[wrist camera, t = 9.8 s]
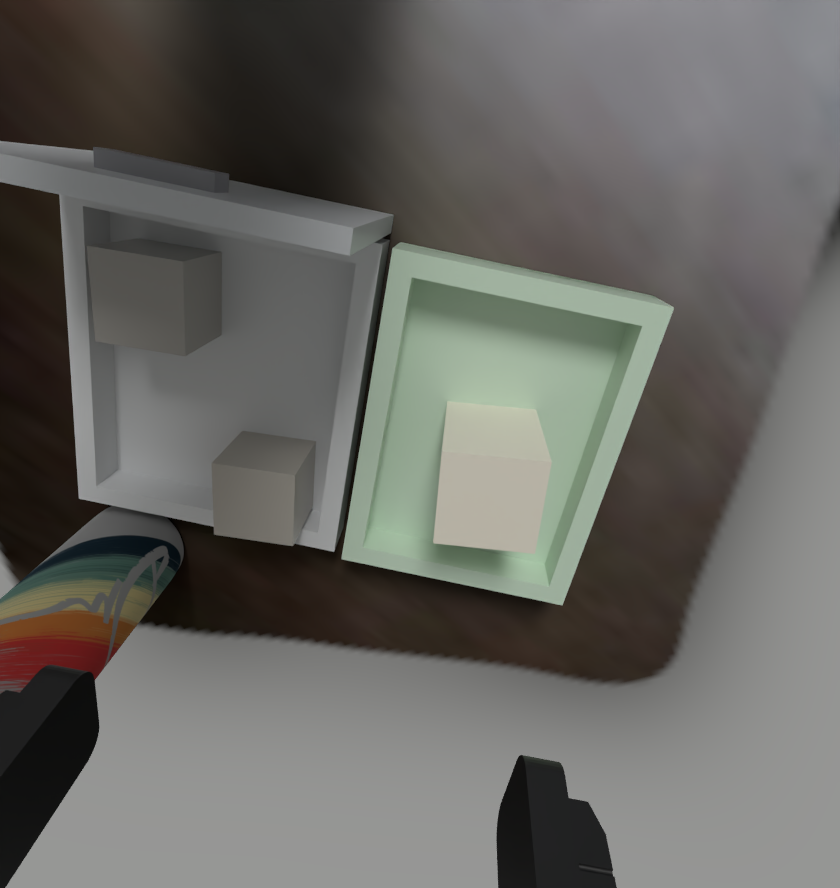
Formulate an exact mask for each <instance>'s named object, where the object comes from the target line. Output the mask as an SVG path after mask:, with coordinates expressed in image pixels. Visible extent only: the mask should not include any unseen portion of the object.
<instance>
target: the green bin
mask: <svg viewBox="0 0 840 888" xmlns="http://www.w3.org/2000/svg"><path fill="white" fill-rule="evenodd" d="M673 310H674V307H672V306H670V305H669V304H667V303H665V302H663V301H662V300H660V299H658V298H656V297H655V296H653V295H648V294H643V293H638V292H634V291H629V290H624V289H620V288H615V287H610V286H605V285H601V284H596V283H591V282H586V281H582V280H577V279H572V278H568V277H563V276H558V275H553V274H549V273H544V272H539V271H535V270H530V269H525V268H520V267H516V266H511V265H506V264H502V263H497V262H492V261H487V260H483V259H478V258H473V257H469V256H464V255H459V254H454V253H450V252H445V251H440V250H436V249H431V248H426V247H421V246H417V245H412V244H407V243H403V242H400V243H399V244H397V245H396V246H395V247H393V249H392V255H391V261H390V267H389V273H388V279H387V285H386V291H385V297H384V303H383V309H382V315H381V322H380V328H379V334H378V340H377V346H376V352H375V358H374V364H373V370H372V376H371V382H370V388H369V394H368V401H367V407H366V413H365V419H364V425H363V431H362V437H361V443H360V449H359V455H358V461H357V467H356V473H355V479H354V486H353V492H352V498H351V504H350V510H349V516H348V522H347V528H346V534H345V540H344V546H343V552H342V558H341V559H343V560H348V561H352V562H357V563H362V564H367V565H372V566H376V567H381V568H386V569H391V570H396V571H400V572H405V573H410V574H415V575H419V576H424V577H429V578H434V579H439V580H443V581H448V582H453V583H458V584H463V585H467V586H472V587H477V588H482V589H487V590H491V591H496V592H501V593H506V594H511V595H515V596H520V597H525V598H530V599H534V600H539V601H544V602H549V603H554V604H558V605H563V602H564V600H565V597H566V594H567V592H568V589H569V586H570V584H571V581H572V578H573V576H574V573H575V570H576V568H577V565H578V562H579V560H580V557H581V554H582V552H583V549H584V546H585V544H586V541H587V538H588V536H589V533H590V530H591V528H592V525H593V522H594V520H595V517H596V514H597V512H598V509H599V506H600V504H601V501H602V498H603V496H604V493H605V490H606V488H607V485H608V483H609V480H610V477H611V475H612V472H613V469H614V467H615V464H616V461H617V459H618V456H619V453H620V451H621V448H622V445H623V443H624V440H625V437H626V435H627V432H628V429H629V427H630V424H631V421H632V419H633V416H634V413H635V411H636V408H637V405H638V403H639V400H640V397H641V395H642V392H643V389H644V387H645V384H646V381H647V379H648V376H649V373H650V371H651V368H652V365H653V363H654V360H655V357H656V355H657V352H658V349H659V347H660V344H661V341H662V339H663V336H664V334H665V331H666V328H667V326H668V323H669V320H670V318H671V315H672V312H673ZM447 401H450V402H461V403H472V404H482V405H493V406H504V407H514V408H525V409H536V411H537V414H538V418H539V421H540V424H541V428H542V431H543V434H544V438H545V441H546V444H547V448H548V451H549V454H550V458H551V461H552V464H551V469H550V475H549V480H548V486H547V491H546V497H545V502H544V508H543V513H542V519H541V524H540V529H539V535H538V540H537V546H536V551H535V554H531V553H521V552H512V551H502V550H493V549H483V548H473V547H464V546H454V545H445V544H435V543H433V539H434V528H435V518H436V507H437V497H438V486H439V475H440V465H441V454H442V445H443V436H444V426H445V417H446V408H447Z"/></svg>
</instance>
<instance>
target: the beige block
mask: <svg viewBox="0 0 840 888" xmlns="http://www.w3.org/2000/svg"><path fill="white" fill-rule="evenodd" d="M551 464H552V461H551V458H550V454H549V451H548V448H547V444H546V441H545V438H544V434H543V431H542V428H541V424H540V421H539V418H538V414H537V411H536V409H525V408H514V407H504V406H493V405H482V404H472V403H461V402H450V401H447V408H446V417H445V426H444V436H443V445H442V454H441V465H440V475H439V486H438V497H437V507H436V518H435V528H434V539H433V543H435V544H445V545H454V546H464V547H473V548H483V549H493V550H502V551H512V552H521V553H531V554H535V551H536V546H537V540H538V535H539V529H540V524H541V519H542V513H543V508H544V502H545V497H546V491H547V486H548V480H549V475H550V469H551Z"/></svg>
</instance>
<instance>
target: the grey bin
mask: <svg viewBox="0 0 840 888" xmlns="http://www.w3.org/2000/svg"><path fill="white" fill-rule="evenodd" d="M59 197H60V212H61V228H62V243H63V259H64V274H65V290H66V305H67V321H68V336H69V352H70V367H71V383H72V398H73V414H74V429H75V445H76V460H77V476H78V491H79V499H83V500H88V501H93V502H98V503H103V504H107V505H112V506H117V507H122V508H127V509H131V510H136V511H141V512H146V513H151V514H155V515H160V516H165V517H170V518H174V519H179V520H184V521H189V522H194V523H198V524H203V525H208V526H213V527H214V520H213V493H212V465H211V463H212V462H213V461H214V460H215V459H216V458H217V457H218V456H219V455H220V454H221V453H222V452H223V451H224V449H225V448H226V447H227V446H228V445H229V444H230V443H231V442H232V441H233V440H234V439H235V438H236V437H237V436H238V435H239V434H240V433H241V432H242V431H248V432H255V433H262V434H269V435H276V436H283V437H290V438H297V439H304V440H311V441H316V453H315V474H314V495H313V507H312V509H311V511H310V513H309V515H308V517H307V519H306V521H305V523H304V525H303V527H302V529H301V531H300V533H299V535H298V537H297V539H296V541H295V543H294V544H299V545H304V546H309V547H313V548H318V549H323V550H328V551H332V552H334V551H335V548H336V546H337V543H338V540H339V538H340V535H341V532H342V530H343V527H344V521H345V515H346V509H347V502H348V496H349V490H350V484H351V478H352V472H353V465H354V459H355V453H356V447H357V441H358V434H359V428H360V422H361V416H362V410H363V404H364V397H365V391H366V385H367V379H368V373H369V367H370V360H371V354H372V348H373V342H374V336H375V329H376V323H377V317H378V311H379V305H380V299H381V292H382V286H383V280H384V274H385V268H386V262H387V255H388V249H389V243H390V240H388V239H384V238H381V239H379V240H378V241H376V242H374V243H372V244H370V245H368V246H367V247H365V248H363V249H361V250H359V251H357V252H356V253H354V254H352V255H350V256H348V255H344V254H339V253H334V252H330V251H325V250H320V249H315V248H311V247H306V246H301V245H296V244H292V243H287V242H282V241H278V240H273V239H268V238H263V237H259V236H254V235H249V234H244V233H240V232H235V231H230V230H226V229H221V228H216V227H211V226H207V225H202V224H197V223H193V222H188V221H183V220H178V219H174V218H169V217H164V216H159V215H155V214H150V213H145V212H141V211H136V210H131V209H126V208H122V207H117V206H112V205H108V204H103V203H98V202H93V201H89V200H84V199H79V198H74V197H70V196H65V195H60V194H59ZM136 238H140V239H146V240H153V241H159V242H165V243H171V244H177V245H183V246H189V247H196V248H202V249H208V250H214V251H220V252H222V335H221V336H219V337H218V338H216V339H214V340H212V341H211V342H209V343H207V344H206V345H204V346H202V347H201V348H199V349H197V350H195V351H194V352H192V353H190V354H189V355H187V356H180V355H174V354H168V353H162V352H156V351H150V350H144V349H138V348H132V347H126V346H120V345H114V344H108V343H102V342H96V341H95V333H94V322H93V311H92V300H91V288H90V277H89V266H88V255H87V246H88V245H95V244H102V243H109V242H116V241H123V240H129V239H136Z"/></svg>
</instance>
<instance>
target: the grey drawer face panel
mask: <svg viewBox="0 0 840 888" xmlns="http://www.w3.org/2000/svg"><path fill="white" fill-rule="evenodd" d="M0 182H4V183H8V184H13V185H18V186H23V187H27V188H32V189H37V190H41V191H46V192H51V193H56V194H60V195H65V196H70V197H74V198H79V199H84V200H89V201H93V202H98V203H103V204H108V205H112V206H117V207H122V208H126V209H131V210H136V211H141V212H145V213H150V214H155V215H159V216H164V217H169V218H174V219H178V220H183V221H188V222H193V223H197V224H202V225H207V226H211V227H216V228H221V229H226V230H230V231H235V232H240V233H244V234H249V235H254V236H259V237H263V238H268V239H273V240H278V241H282V242H287V243H292V244H296V245H301V246H306V247H311V248H315V249H320V250H325V251H330V252H334V253H339V254H344V255H348V256H350V255H352V254H354V253H356V252H357V251H359V250H361V249H363V248H365V247H367V246H368V245H370V244H372V243H374V242H376V241H378V240H379V239H381V238H383V237H385V236H387V235H389V234H390V233H391V231H392V225H393V218H394V215H393V214H388V213H383V212H379V211H374V210H369V209H364V208H360V207H355V206H350V205H346V204H341V203H336V202H331V201H327V200H322V199H317V198H313V197H308V196H303V195H298V194H294V193H289V192H284V191H280V190H275V189H270V188H265V187H261V186H256V185H251V184H247V183H242V182H237V181H232V180H229V174H228V173H223V172H218V171H214V170H209V169H204V168H200V167H195V166H190V165H186V164H181V163H176V162H171V161H167V160H162V159H157V158H153V157H148V156H143V155H138V154H134V153H129V152H124V151H120V150H115V149H107V148H98V147H93V151H90V150H80V149H70V148H61V147H51V146H41V145H32V144H22V143H12V142H3V141H0Z"/></svg>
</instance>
